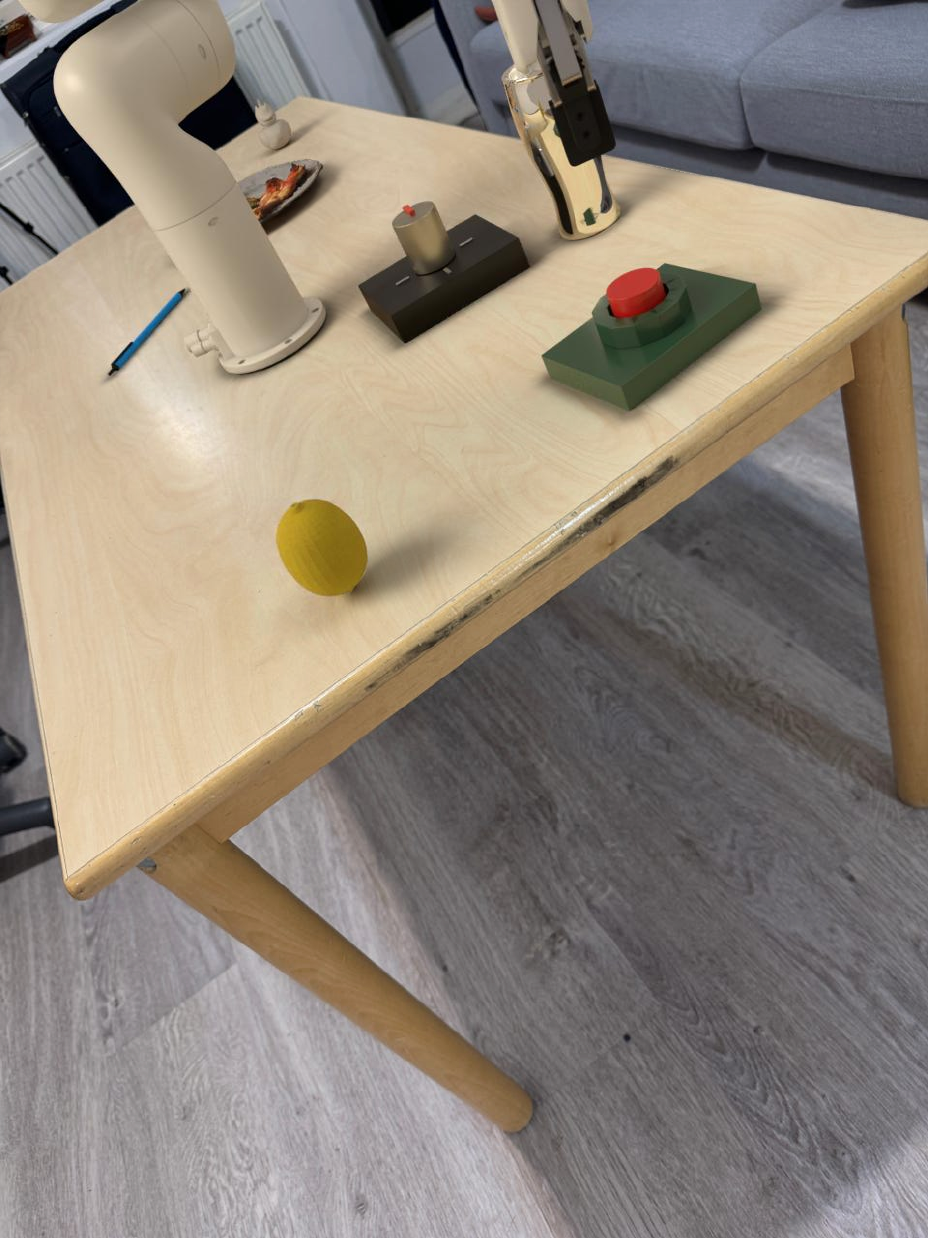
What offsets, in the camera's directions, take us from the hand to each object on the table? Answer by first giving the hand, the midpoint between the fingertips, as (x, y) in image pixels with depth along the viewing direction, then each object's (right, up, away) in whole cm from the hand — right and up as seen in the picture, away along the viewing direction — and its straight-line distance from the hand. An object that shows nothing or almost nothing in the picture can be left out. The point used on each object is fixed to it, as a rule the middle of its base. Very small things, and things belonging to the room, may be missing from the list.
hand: (592, 153), depth 65 cm
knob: (-11, +4, +30) cm, 32 cm away
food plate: (-39, +27, +77) cm, 91 cm away
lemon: (-16, -29, +4) cm, 33 cm away
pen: (-48, +5, +60) cm, 77 cm away
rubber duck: (-39, +48, +99) cm, 116 cm away
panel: (-10, +2, +32) cm, 33 cm away
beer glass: (+4, +7, +29) cm, 30 cm away
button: (+4, -8, +7) cm, 11 cm away
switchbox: (+6, -10, +10) cm, 15 cm away
